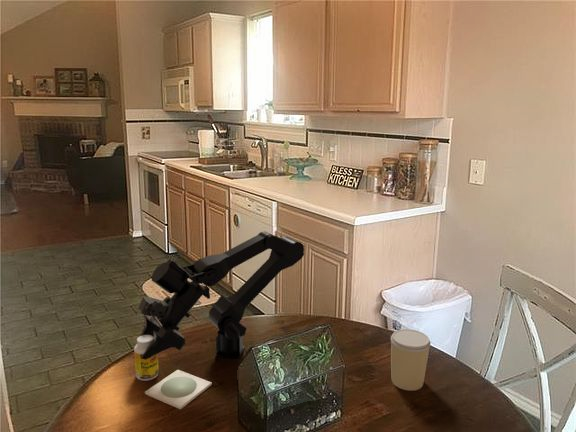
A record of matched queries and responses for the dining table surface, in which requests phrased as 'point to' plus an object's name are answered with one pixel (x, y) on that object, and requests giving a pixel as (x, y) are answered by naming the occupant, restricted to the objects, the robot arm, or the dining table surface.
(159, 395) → the card
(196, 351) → the dining table surface
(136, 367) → the supplement bottle
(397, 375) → the coffee cup
